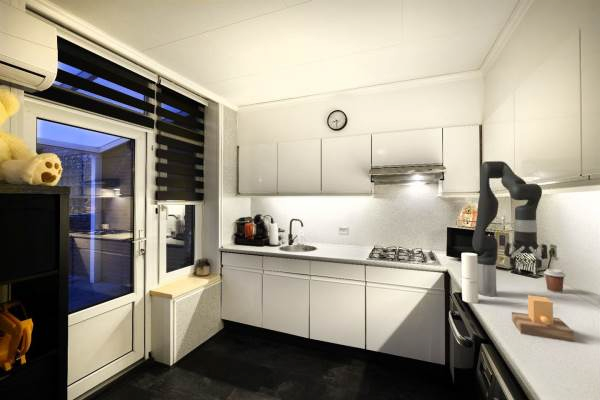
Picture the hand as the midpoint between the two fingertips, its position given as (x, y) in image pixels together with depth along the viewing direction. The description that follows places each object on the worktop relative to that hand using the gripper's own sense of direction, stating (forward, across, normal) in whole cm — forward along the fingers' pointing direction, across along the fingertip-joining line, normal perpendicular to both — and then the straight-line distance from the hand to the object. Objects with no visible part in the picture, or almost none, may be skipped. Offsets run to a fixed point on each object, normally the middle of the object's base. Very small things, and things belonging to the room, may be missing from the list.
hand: (525, 267), depth 115 cm
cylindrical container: (+26, +17, -20) cm, 37 cm away
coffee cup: (+26, -29, -53) cm, 66 cm away
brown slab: (+25, -4, +6) cm, 25 cm away
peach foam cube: (+21, -3, +7) cm, 22 cm away
